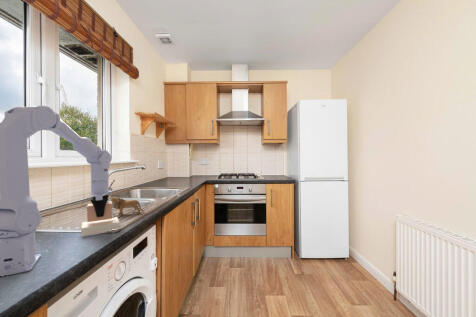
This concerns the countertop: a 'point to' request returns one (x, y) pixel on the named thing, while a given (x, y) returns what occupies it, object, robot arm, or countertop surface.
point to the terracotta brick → (92, 214)
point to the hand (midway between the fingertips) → (100, 215)
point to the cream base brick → (99, 226)
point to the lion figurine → (125, 204)
